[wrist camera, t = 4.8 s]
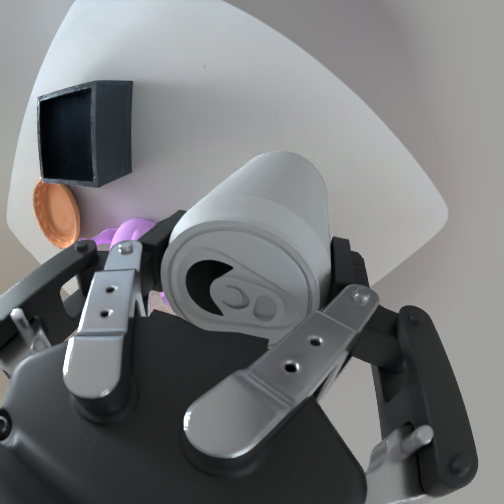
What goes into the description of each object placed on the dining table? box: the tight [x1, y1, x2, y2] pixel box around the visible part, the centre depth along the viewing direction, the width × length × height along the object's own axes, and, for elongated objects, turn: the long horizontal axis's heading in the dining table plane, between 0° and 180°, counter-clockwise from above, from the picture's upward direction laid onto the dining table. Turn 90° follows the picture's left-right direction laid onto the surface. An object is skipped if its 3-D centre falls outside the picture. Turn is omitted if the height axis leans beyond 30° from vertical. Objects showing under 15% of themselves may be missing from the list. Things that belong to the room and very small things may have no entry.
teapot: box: [80, 218, 170, 306], centre depth 41 cm, size 12×14×9 cm
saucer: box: [33, 178, 80, 249], centre depth 45 cm, size 16×16×3 cm
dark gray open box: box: [37, 80, 133, 188], centre depth 33 cm, size 15×15×8 cm
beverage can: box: [161, 151, 331, 349], centre depth 14 cm, size 6×6×12 cm
